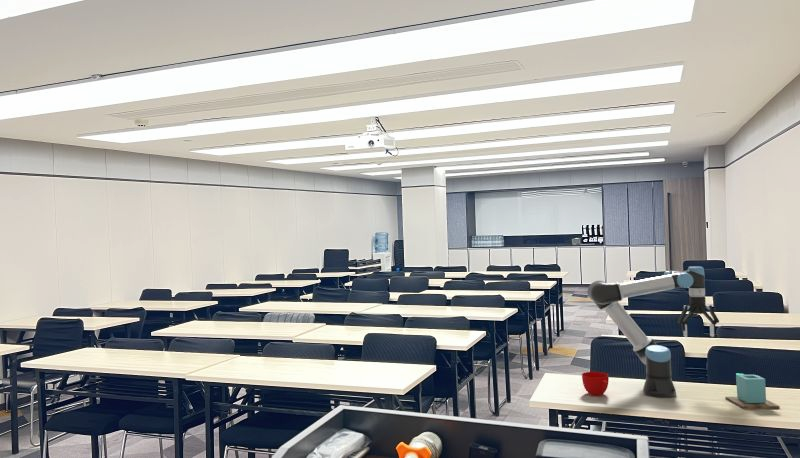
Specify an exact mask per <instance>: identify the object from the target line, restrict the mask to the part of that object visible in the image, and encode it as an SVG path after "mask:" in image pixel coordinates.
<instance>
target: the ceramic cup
mask: <svg viewBox="0 0 800 458" xmlns="http://www.w3.org/2000/svg"><path fill="white" fill-rule="evenodd" d="M609 378H610V377H609V374H608V373H606V372H599V371H586V372H583V373H581V379H582V385H583V388H584V389H585V391H586V392H587V393H588V395H590V396H593V397H600V396H603V394H605V393H606V391H607V389H608V387H609V386H608V385H609Z"/></svg>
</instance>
